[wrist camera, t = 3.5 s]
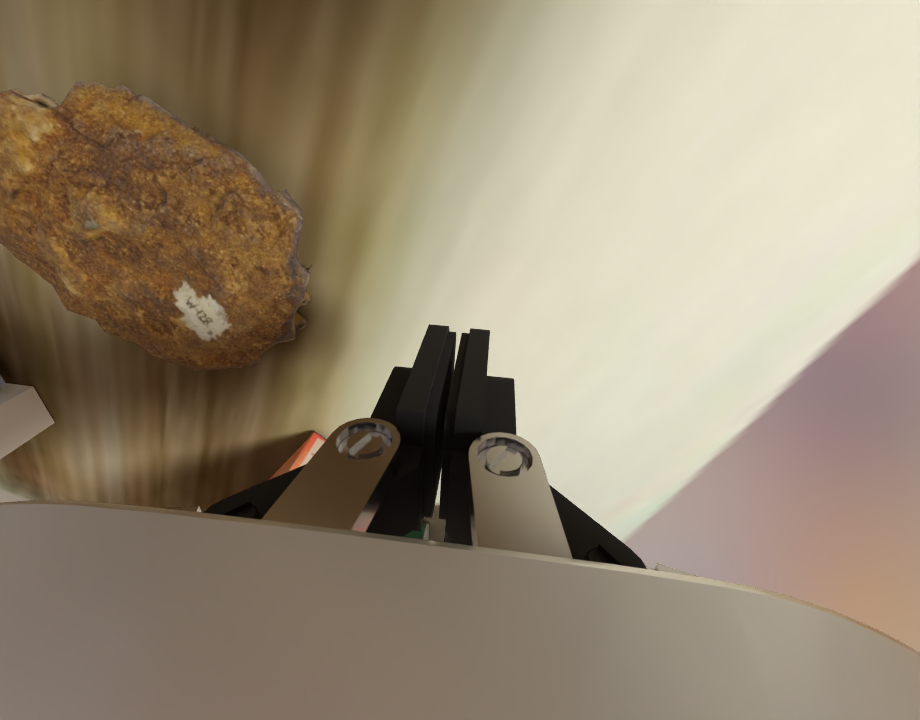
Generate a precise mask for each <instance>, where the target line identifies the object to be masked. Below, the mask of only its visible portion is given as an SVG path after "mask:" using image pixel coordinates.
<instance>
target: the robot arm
mask: <svg viewBox="0 0 920 720" xmlns="http://www.w3.org/2000/svg"><path fill="white" fill-rule="evenodd" d="M489 336H490V330H481V329H470V333H469V334H468V333H462V336H461V341H460V345H459V350H458V355H457V360H456V364H455V369H454V362H455V346H456V332H449V326H440V325H430V324H429V326H428V329H427V331H426V334H425V336H424V339H423V342H422V344H421V347H420V349H419V352H418V354H417V357H416V360H415V362H414V365H413V367H412V368H406V367H394V369H393V370H392V373H391V375H390V377H389V379H388V381H387V383H386V385H385V388H384V390H383V392H382V394H381V396H380V398H379V400H378V403H377V405H376V407H375V409H374V411H373V413H372V415H371V418H362V419H356V420H352V421H349V422H347V423H345V424H343V425H341V426H339V427H338V428H337V429H336V430H335V431H334V432H333V433H332V434H331V435H330V436H329V437H328V439H327V440H326V441H325V442H324V443H323V445H322V446H321V447H320V448H319V450H318V451H317V452H316V453H315V454H314V456H313V457H312V458H311V459H310V461H309V462H308V463H307V464H305V465H303V466H300V467H298V468H296V469H293V470H291V471H289V472H286V473H284V474H282V475H279V476H277V477H275V478H272V479H270V480H267V481H265V482H263V483H260V484H258V485H256V486H253V487H251V488H249V489H246V490H244V491H242V492H239V493H237V494H235V495H232V496H230V497H228V498H225V499H223V500H221V501H219V502H218V503H216V504H214V505H212V506H211V507H209V508H208V509H207V510H206V511H204V512H201V509H200V507H199V506H190V507H176V508H155V507H146V506H136V505H124V504H112V503H99V502H86V501H62V500H30V501H17V502H4V503H0V720H920V652H919V651H917V650H915V649H913V648H912V647H910V646H908V645H906V644H905V643H903V642H901V641H899V640H897V639H895V638H893V637H891V636H889V635H887V634H886V633H884V632H882V631H880V630H878V629H875V628H873V627H871V626H868V625H866V624H864V623H862V622H859V621H857V620H855V619H852V618H850V617H848V616H845V615H843V614H840V613H838V612H836V611H834V610H831V609H828V608H825V607H822V606H819V605H816V604H813V603H810V602H807V601H804V600H801V599H798V598H794V597H792V596H788V595H784V594H780V593H776V592H772V591H768V590H764V589H760V588H756V587H752V586H748V585H742V584H736V583H730V582H724V581H718V580H713V579H708V578H702V577H699V576H696V575H693V574H690V573H686V572H683V571H681V570H678V569H674V568H671V567H668V566H665V565H662V564H659V563H657V565H656V567H655V569H654V568H651V567H648V566H645V565H644V563H643V562H642V560H641V559H640V558H639V557H638V556H637V555H636V554H635V553H634V552H633V551H632V550H631V549H630V548H629V547H627V546H626V545H625V544H624V543H622V542H621V541H620V540H619V539H617V538H616V537H615V536H613V535H612V534H611V533H610V532H608V531H607V530H606V529H605V528H603V527H602V526H601V525H600V524H598V523H597V522H596V521H594V520H593V519H592V518H591V517H589V516H588V515H587V514H586V513H584V512H583V511H582V510H581V509H579V508H578V507H577V506H576V505H574V504H573V503H572V502H570V501H569V500H568V499H567V498H565V497H564V496H563V495H562V494H560V493H559V492H558V491H557V490H555V489H554V488H553V487H552V486H550V485H549V483H548V480H547V477H546V474H545V470H544V467H543V464H542V461H541V458H540V455H539V453H538V452H537V450H536V448H535V447H534V446H533V445H532V444H531V443H530V442H528V441H527V440H525V439H523V438H521V437H519V436H516V416H515V390H514V379H512V378H502V377H492V376H487V363H488V349H489ZM441 468H442V473H441ZM440 473H441V491H440V509H439V519H446V528H445V532H446V533H447V535H449V536H450V538H451V539H452V540H453V541H454V542H455V543H456V544H454V543H446V542H438V541H431V540H423V539H415V538H407V537H403V536H405V535H406V534H408V533H409V532H411V531H413V530H415V531H421V528H422V524H423V519H424V517H430V518H432V516H433V511H434V506H435V500H436V495H437V489H438V484H439V479H440Z"/></svg>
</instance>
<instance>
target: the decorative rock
mask: <svg viewBox="0 0 920 720" xmlns="http://www.w3.org/2000/svg"><path fill="white" fill-rule="evenodd" d="M302 224H303V217H302V211H301V208H300V207H299V206H298V205H297V204H296V203H295V202H294V201H293V199H292V198H291V197H290V195H289V193H288V191H287V190H284V191H282V192H280V191H277V190H274V189H271V188H270V187H269V185H268V184H267V183H266V181H265V180H264V178H263V177H262V175H261V174H260V172H259V171H258V170H257V169H256V168H255V167H254V166H253V165H252V164H251V163H250V162H249V161H248V160H247V159H246V158H245V157H244V156H243V155H242V154H240V153H239V152H238V151H236V150H234V149H232V148H231V147H229V146H227V145H225V144H224V143H222V142H220V141H218V140H216V139H215V138H213V137H211V136H209V135H207V134H205V133H204V132H202V131H200V130H198V129H196V128H195V127H193V126H191V125H189V124H188V123H186V122H184V121H183V120H181V119H179V118H178V117H176V116H174V115H173V114H171V113H169V112H168V111H166V110H165V109H163V108H162V107H160V106H159V105H158V104H156V103H155V102H153V101H152V100H150V99H149V98H148V97H146V96H145V95H139V96H137V95H135V94H134V93H133V92H132V91H131V90H130V89H129V88H128V87H125V86H123V85H119V86H116V87H114V88H112V89H111V88H109V87H107V86H105V85H103V84H101V83H99V82H97V81H93V82H76V84H75V85H74V86H73V88H72V89H71V91H70V92H69V93H68V95H67V96H66V98H65V99H64V101H63V102H62V104H61V105H58V104H57V103H56V102H54V101H53V100H52V99H51V98H49V97H48V96H46V95H44V94H35V95H24V94H23V93H21V92H20V91H18V90H17V89H13V90H10V91H5V92H2V93H0V243H1V244H3V245H4V246H5V247H6V248H7V249H8V250H9V251H10V252H11V253H12V254H13V255H14V256H15V257H16V258H18V259H19V260H21V261H22V262H23V263H25V264H26V265H28V266H29V267H31V268H32V269H33V270H34V271H35V272H36V273H38V274H39V275H40V276H41V277H42V278H43V279H45V280H46V281H48V282H49V283H50V284H52V286H53V287H54V289H55V290H56V292H57V294H58V295H59V297H60V299H61V301H62V303H63V304H64V306H65V307H66V309H67V310H69V311H72V312H75V313H78V314H80V315H83V316H86V317H89V318H92V319H95V320H96V321H97V322H98V323H99V325H100V326H101V327H102V329H103V330H104V331H105V332H106V333H108V334H112V335H117V336H121V337H122V339H123V340H124V341H128V342H133V343H137V344H138V345H139V346H141V347H142V348H143V349H144V350H146V351H147V352H148V353H149V354H151V355H152V356H155V357H158V358H160V359H163V360H166V361H169V362H172V363H175V364H178V365H180V366H182V367H184V368H186V369H188V370H200V371H202V370H225V369H229V368H232V367H236V368H239V369H241V368H242V367H243V366H251V365H255V364H260V363H261V356H262V355H263V354H264V353H265V352H266V351H267V350H268V349H269V348H271V347H272V346H274V345H275V344H277V343H285V342H288V341H292V340H295V339H296V333H297V332H298V331H300V330H301V329H303V328H304V327H305V326H306V321H305V319H304V318H303V317H302V316H301V315H300V314H298V313H297V310H298V309H299V307H300V306H303V305H307V304H310V300H311V296H310V295H309V293H308V292H307V291H306V288H307V285H308V282H309V279H310V277H311V275H310V273H309V269H310V268H307V269H305V268H304V267H302V266H301V264H300V262H299V260H298V258H297V256H296V255H297V246H298V241H299V237H300V232H301V227H302ZM311 266H312V265H311ZM311 266H310V267H311Z"/></svg>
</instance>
